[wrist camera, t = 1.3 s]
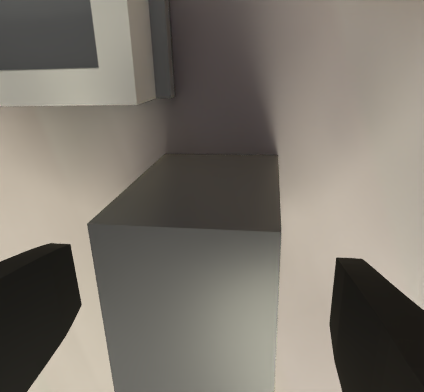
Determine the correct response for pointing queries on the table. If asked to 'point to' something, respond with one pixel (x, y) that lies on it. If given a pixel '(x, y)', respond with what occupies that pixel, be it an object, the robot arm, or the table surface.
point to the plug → (192, 275)
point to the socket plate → (84, 52)
